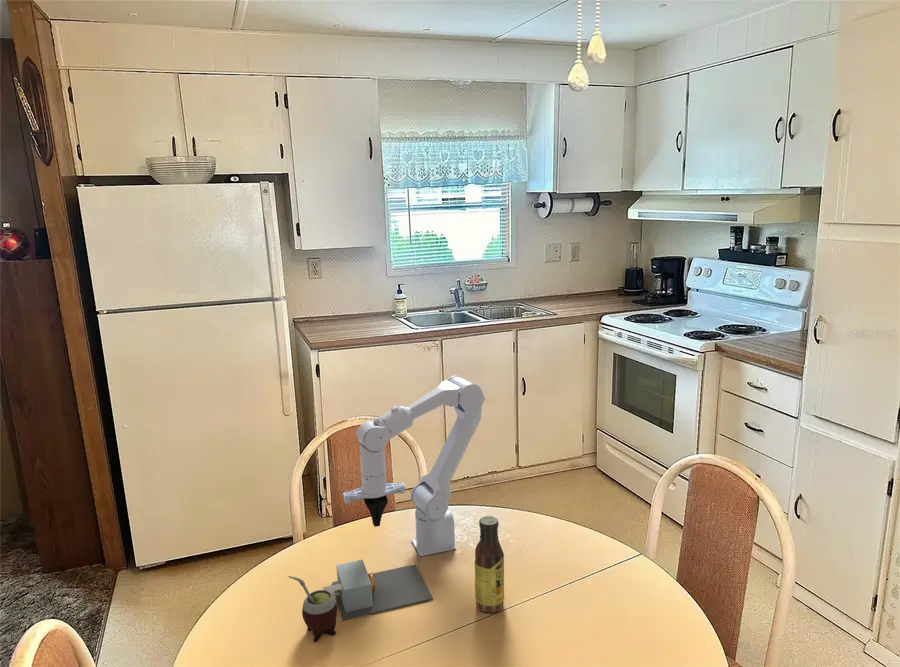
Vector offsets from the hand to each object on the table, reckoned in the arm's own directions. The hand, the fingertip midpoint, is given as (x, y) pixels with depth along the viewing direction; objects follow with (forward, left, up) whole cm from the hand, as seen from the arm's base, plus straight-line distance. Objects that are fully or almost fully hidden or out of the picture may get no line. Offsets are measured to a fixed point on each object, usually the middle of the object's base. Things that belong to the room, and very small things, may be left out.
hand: (376, 524), depth 152 cm
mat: (+2, +12, -10) cm, 16 cm away
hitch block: (+8, +12, -10) cm, 17 cm away
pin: (+9, +12, -9) cm, 18 cm away
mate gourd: (+17, +21, -10) cm, 29 cm away
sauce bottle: (-19, +25, -10) cm, 33 cm away
